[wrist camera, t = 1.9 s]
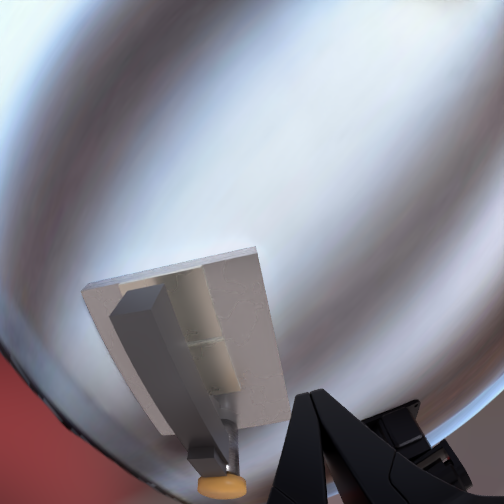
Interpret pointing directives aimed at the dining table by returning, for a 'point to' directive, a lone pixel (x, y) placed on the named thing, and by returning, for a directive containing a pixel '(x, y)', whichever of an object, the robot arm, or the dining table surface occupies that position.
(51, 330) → the dining table surface
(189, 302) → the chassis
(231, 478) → the bar
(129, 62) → the dining table surface
